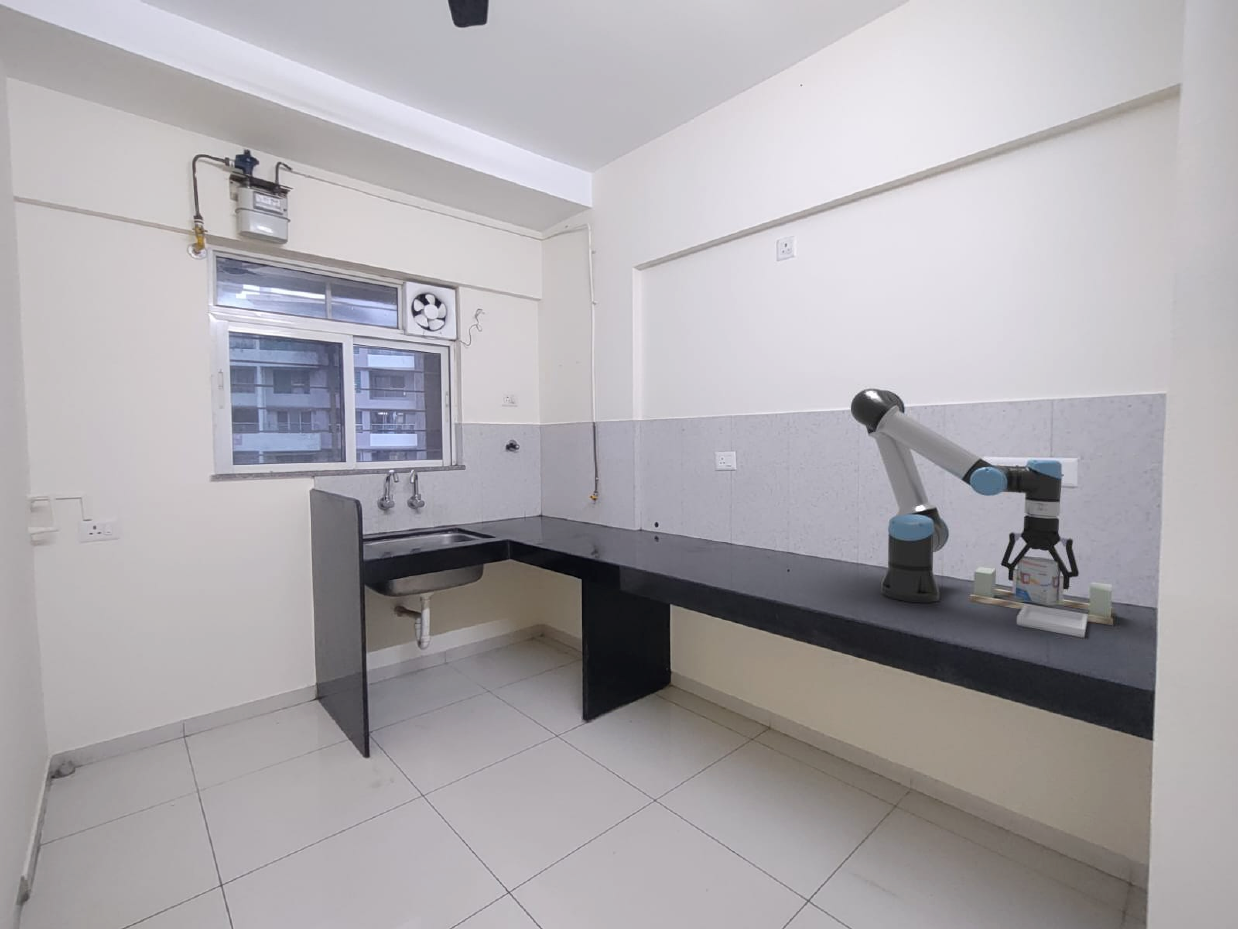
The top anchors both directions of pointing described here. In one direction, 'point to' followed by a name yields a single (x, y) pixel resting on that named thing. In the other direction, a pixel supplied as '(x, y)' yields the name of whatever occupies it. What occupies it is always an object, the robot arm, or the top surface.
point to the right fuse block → (1100, 599)
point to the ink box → (1038, 580)
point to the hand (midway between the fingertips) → (1037, 596)
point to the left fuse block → (985, 582)
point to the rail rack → (1020, 605)
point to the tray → (1053, 620)
